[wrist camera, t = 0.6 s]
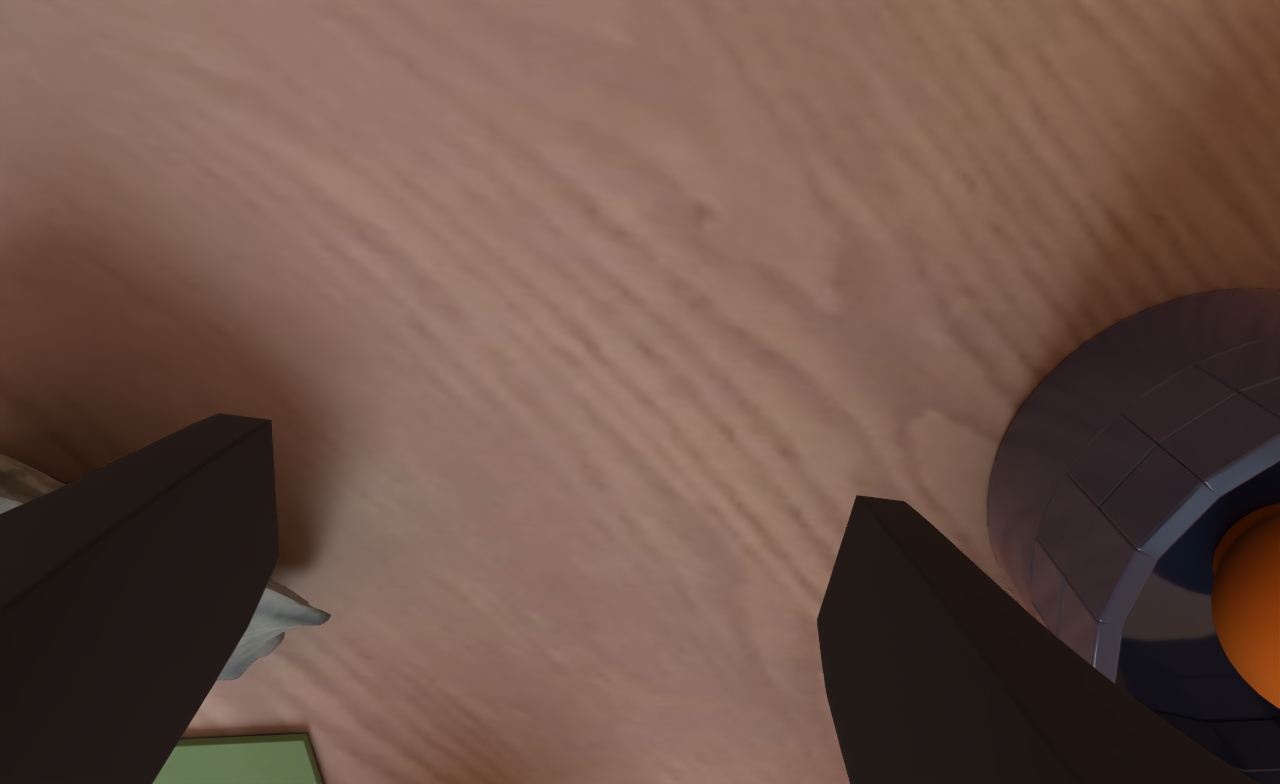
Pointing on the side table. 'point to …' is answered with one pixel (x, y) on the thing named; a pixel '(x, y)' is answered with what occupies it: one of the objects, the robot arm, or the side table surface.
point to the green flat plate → (242, 761)
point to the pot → (1150, 506)
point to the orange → (1250, 599)
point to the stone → (279, 609)
